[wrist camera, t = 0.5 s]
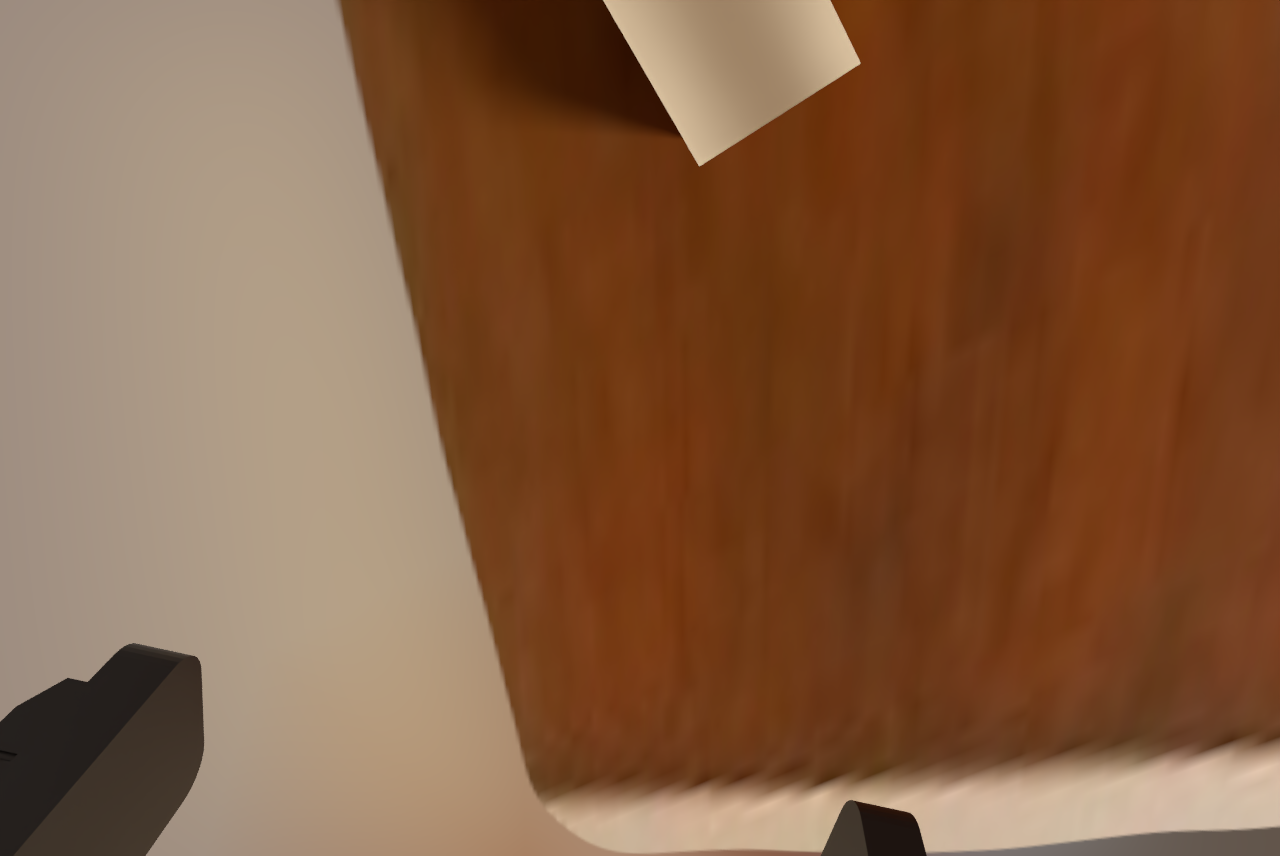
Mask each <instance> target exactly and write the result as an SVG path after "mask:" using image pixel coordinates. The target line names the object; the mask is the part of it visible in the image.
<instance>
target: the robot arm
mask: <svg viewBox="0 0 1280 856" xmlns="http://www.w3.org/2000/svg"><path fill="white" fill-rule="evenodd" d="M201 676H202V675H201V664H200V661H199V660H198V658H197V657H195V656H191V655H186V654H182V653H177V652H173V651H168V650H163V649H158V648H154V647H149V646H145V645H140V644H135V643H133V644H129V645H126V646H124V647H123V648H122V649H120V650H119V651H118V652H117V653H116V654H115V655H114V656H113V657H112V658H111V659H110V660H109V661H108V662H107V663H106V664H105V665H104V666H103V667H102V668H101V669H100V670H99V671H98V672H97V673H96V674H95V675H94V676H93V677H92V678H91V679H90V681H88V682H84V681H79V680H74V679H70V678H67V679H65V680H63V681H61V682H60V683H58V684H56V685H54V686H52V687H51V688H49V689H47V690H45V691H43V692H42V693H40V694H38V695H36V696H35V697H33V698H31V699H29V700H27V701H25V702H24V703H22V704H20V705H18V706H17V707H15V708H14V709H13V710H12V711H11V712H10V713H9V714H8V715H7V716H6V717H5V718H4V719H3V720H2V721H1V722H0V856H146V854H147V853H148V851H149V850H150V848H151V847H152V845H153V844H154V843H155V841H156V840H157V838H158V837H159V835H160V834H161V833H162V831H163V830H164V828H165V827H166V825H167V824H168V823H169V821H170V820H171V818H172V817H173V815H174V814H175V812H176V811H177V810H178V808H179V807H180V805H181V804H182V802H183V801H184V799H185V798H186V796H187V794H188V793H189V791H190V789H191V787H192V785H193V783H194V781H195V778H196V776H197V773H198V770H199V767H200V764H201V761H202V756H203V751H204V730H203V728H204V727H203V703H202V702H203V701H202V678H201ZM821 856H926V852H925V848H924V844H923V840H922V837H921V833H920V829H919V826H918V823H917V821H916V819H915V818H914V816H913V815H912V814H911V813H908V812H904V811H899V810H894V809H890V808H885V807H880V806H876V805H871V804H867V803H862V802H857V801H853V800H850V801H848V802H846V803H845V805H844V806H843V808H842V810H841V812H840V814H839V817H838V819H837V821H836V823H835V825H834V828H833V830H832V832H831V834H830V837H829V839H828V841H827V843H826V846H825V848H824V850H823V852H822V854H821Z"/></svg>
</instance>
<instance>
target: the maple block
mask: <svg viewBox="0 0 1280 856" xmlns="http://www.w3.org/2000/svg"><path fill="white" fill-rule="evenodd" d="M603 1H604V3H605V5H606V6H607V8H608V10H609V11H610V13H611V15H612V17H613V18H614V20H615V22H616V24H617V25H618V27H619V29H620V30H621V32H622V34H623V36H624V37H625V39H626V41H627V42H628V44H629V46H630V48H631V49H632V51H633V53H634V55H635V56H636V58H637V60H638V61H639V63H640V65H641V67H642V68H643V70H644V72H645V74H646V75H647V77H648V79H649V80H650V82H651V84H652V86H653V87H654V89H655V91H656V93H657V94H658V96H659V98H660V99H661V101H662V103H663V105H664V106H665V108H666V110H667V112H668V113H669V115H670V117H671V118H672V120H673V122H674V124H675V125H676V127H677V129H678V131H679V132H680V134H681V136H682V137H683V139H684V141H685V143H686V144H687V146H688V148H689V150H690V151H691V153H692V155H693V156H694V158H695V160H696V162H697V163H698V165H699V166H701V165H702V164H704V163H706V162H707V161H709V160H710V159H712V158H713V157H715V156H717V155H718V154H720V153H721V152H723V151H724V150H726V149H727V148H729V147H731V146H732V145H734V144H735V143H737V142H738V141H740V140H742V139H743V138H745V137H746V136H748V135H749V134H751V133H753V132H754V131H756V130H757V129H759V128H760V127H762V126H764V125H765V124H767V123H768V122H770V121H771V120H773V119H775V118H776V117H778V116H779V115H781V114H782V113H784V112H785V111H787V110H789V109H790V108H792V107H793V106H795V105H796V104H798V103H800V102H801V101H803V100H804V99H806V98H807V97H809V96H811V95H812V94H814V93H815V92H817V91H818V90H820V89H822V88H823V87H825V86H826V85H828V84H829V83H831V82H832V81H834V80H836V79H837V78H839V77H840V76H842V75H843V74H845V73H847V72H848V71H850V70H851V69H853V68H854V67H856V66H858V65H859V64H861V63H860V61H859V59H858V57H857V55H856V53H855V51H854V48H853V46H852V44H851V42H850V40H849V38H848V36H847V34H846V32H845V30H844V28H843V26H842V24H841V22H840V20H839V18H838V15H837V13H836V11H835V9H834V7H833V5H832V3H831V1H830V0H603Z"/></svg>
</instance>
